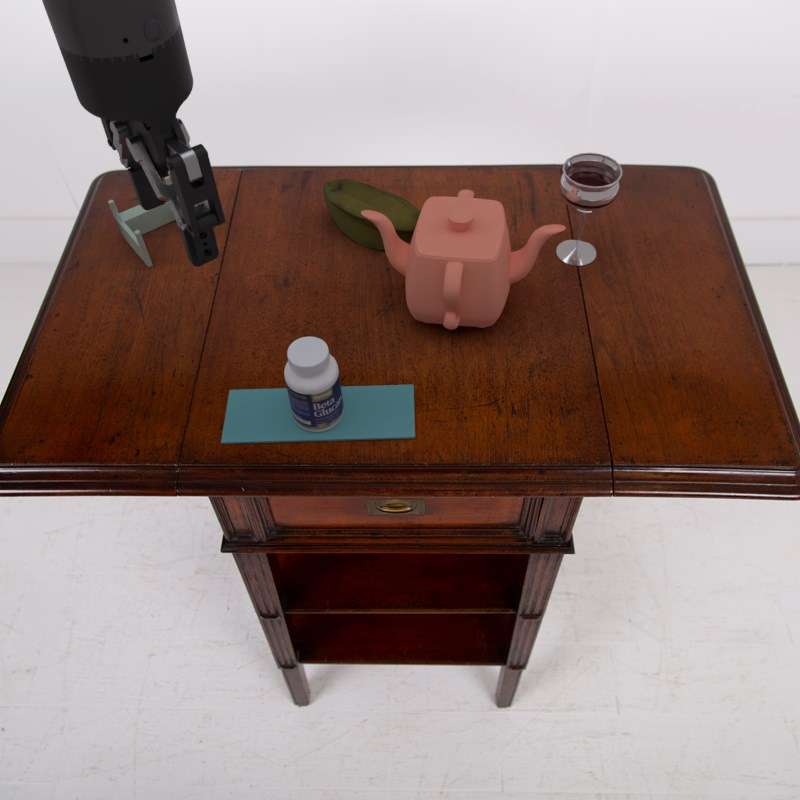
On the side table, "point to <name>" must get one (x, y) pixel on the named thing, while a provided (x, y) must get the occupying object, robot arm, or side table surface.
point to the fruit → (356, 197)
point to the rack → (141, 224)
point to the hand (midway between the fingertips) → (179, 231)
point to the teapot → (459, 259)
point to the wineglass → (587, 198)
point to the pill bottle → (313, 385)
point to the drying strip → (362, 420)
